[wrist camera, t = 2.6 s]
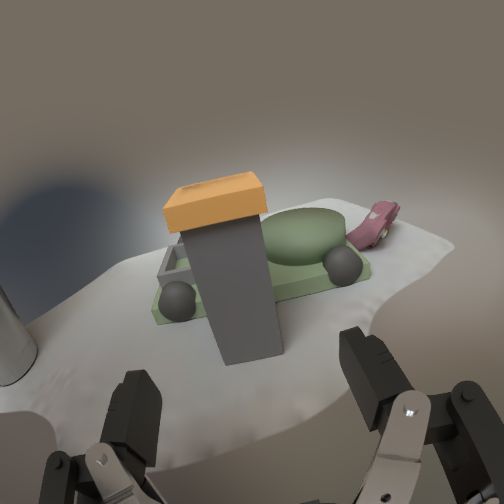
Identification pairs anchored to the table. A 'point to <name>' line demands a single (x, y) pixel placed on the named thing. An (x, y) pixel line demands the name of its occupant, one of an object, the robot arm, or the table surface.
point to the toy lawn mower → (273, 263)
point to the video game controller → (374, 225)
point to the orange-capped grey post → (229, 262)
